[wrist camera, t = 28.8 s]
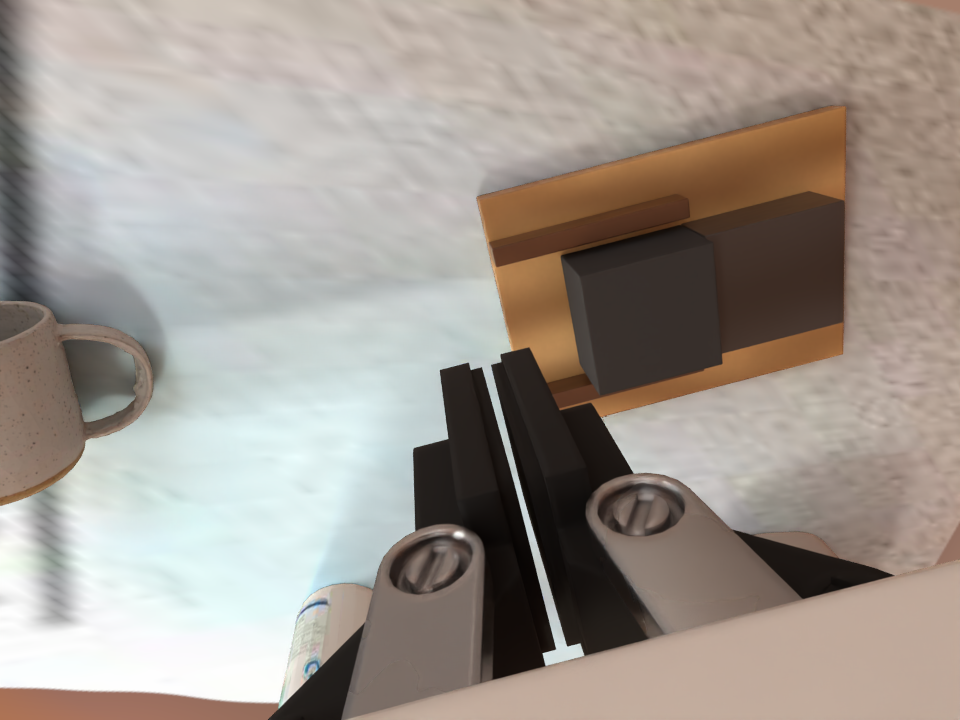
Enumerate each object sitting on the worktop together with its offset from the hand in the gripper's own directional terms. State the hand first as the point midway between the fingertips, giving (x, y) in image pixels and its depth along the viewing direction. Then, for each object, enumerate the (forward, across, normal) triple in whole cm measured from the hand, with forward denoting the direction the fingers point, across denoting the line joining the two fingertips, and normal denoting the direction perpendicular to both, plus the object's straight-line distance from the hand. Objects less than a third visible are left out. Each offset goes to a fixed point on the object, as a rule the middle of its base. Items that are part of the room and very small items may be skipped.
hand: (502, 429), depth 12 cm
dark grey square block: (+22, -9, +7) cm, 25 cm away
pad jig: (+23, -12, +7) cm, 27 cm away
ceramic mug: (+23, +22, +3) cm, 32 cm away
